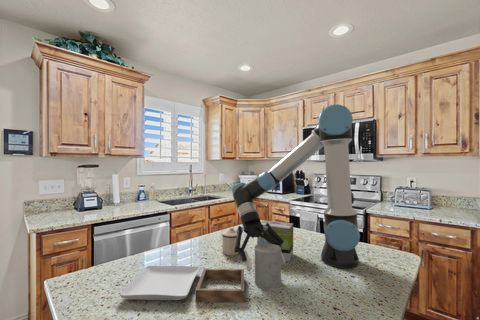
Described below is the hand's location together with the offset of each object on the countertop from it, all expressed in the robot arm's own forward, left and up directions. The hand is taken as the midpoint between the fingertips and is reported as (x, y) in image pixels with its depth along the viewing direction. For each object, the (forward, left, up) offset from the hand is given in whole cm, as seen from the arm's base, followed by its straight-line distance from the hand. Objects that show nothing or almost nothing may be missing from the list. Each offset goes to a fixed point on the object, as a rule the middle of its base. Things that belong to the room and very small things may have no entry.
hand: (267, 266), depth 85 cm
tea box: (-6, -26, -6) cm, 27 cm away
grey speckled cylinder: (0, -1, -6) cm, 6 cm away
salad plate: (+36, +3, -6) cm, 36 cm away
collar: (+16, +4, -6) cm, 17 cm away
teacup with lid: (+15, -31, -6) cm, 34 cm away
